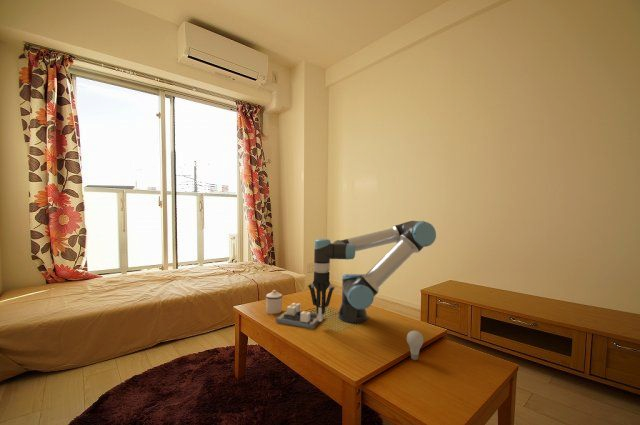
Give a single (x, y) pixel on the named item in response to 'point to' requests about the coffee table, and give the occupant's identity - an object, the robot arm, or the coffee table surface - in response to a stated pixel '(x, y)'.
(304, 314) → the breaker
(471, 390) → the coffee table surface
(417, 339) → the lightbulb
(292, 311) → the breaker
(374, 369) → the coffee table surface
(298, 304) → the breaker
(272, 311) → the teacup with lid
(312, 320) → the panel
